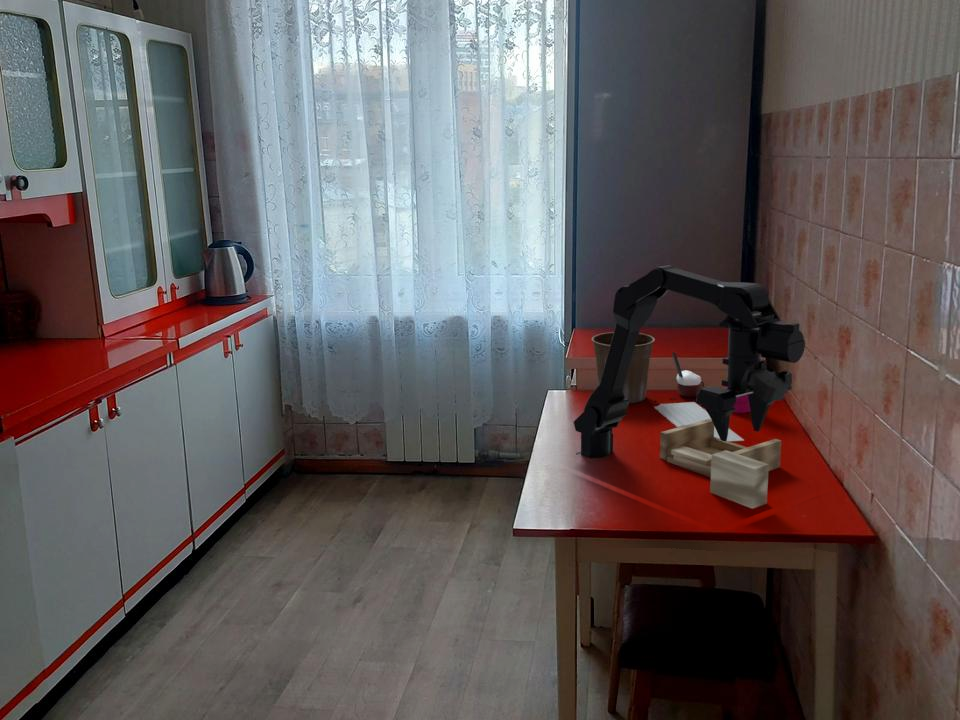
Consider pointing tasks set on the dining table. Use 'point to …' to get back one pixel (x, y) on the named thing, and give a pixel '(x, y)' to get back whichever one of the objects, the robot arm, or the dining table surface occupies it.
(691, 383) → the cocoa
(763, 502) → the beige wooden block
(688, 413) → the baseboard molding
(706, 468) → the offcut stack
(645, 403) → the dining table surface
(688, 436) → the rack
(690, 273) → the robot arm
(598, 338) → the plant pot
